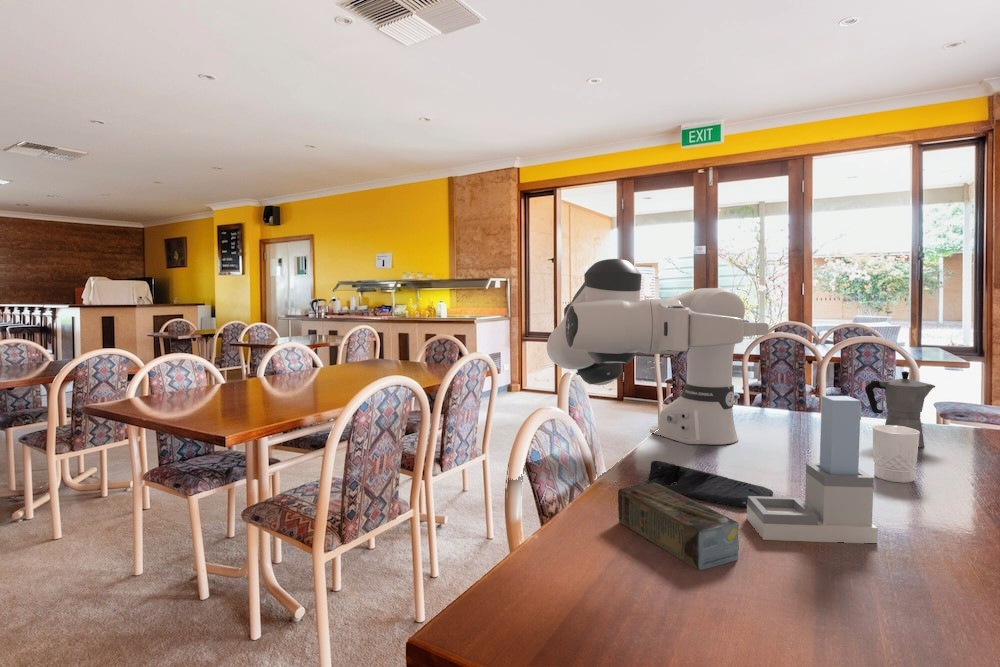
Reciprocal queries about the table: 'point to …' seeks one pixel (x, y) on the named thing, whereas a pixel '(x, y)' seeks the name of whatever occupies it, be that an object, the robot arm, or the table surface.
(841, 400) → the plug
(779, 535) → the stepped base with tray
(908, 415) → the coffeepot
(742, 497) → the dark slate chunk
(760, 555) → the table surface
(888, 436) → the white cup
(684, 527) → the beverage carton
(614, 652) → the table surface
